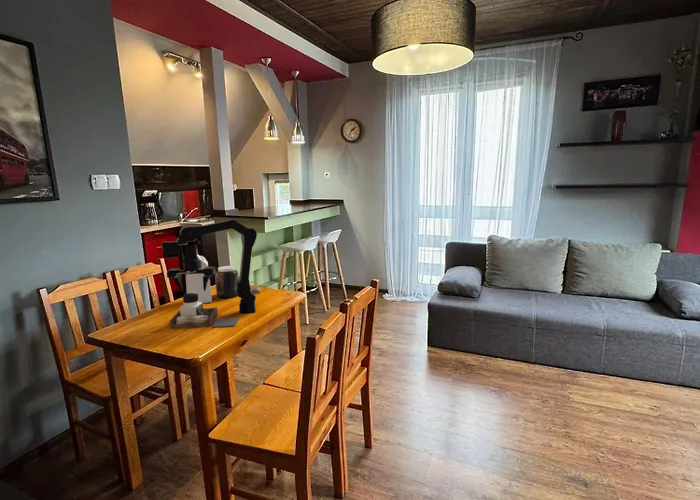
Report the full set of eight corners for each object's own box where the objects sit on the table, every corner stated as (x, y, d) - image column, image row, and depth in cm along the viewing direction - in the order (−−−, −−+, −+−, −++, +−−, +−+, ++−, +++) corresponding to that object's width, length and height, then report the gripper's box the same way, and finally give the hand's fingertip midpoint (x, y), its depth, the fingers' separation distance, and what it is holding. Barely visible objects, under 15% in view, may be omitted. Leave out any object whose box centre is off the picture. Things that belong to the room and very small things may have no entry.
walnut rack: (218, 315, 168) (217, 307, 167) (211, 325, 155) (210, 317, 154) (180, 317, 166) (180, 309, 165) (170, 328, 153) (170, 320, 152)
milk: (187, 298, 194) (183, 249, 189) (211, 295, 198) (207, 247, 193) (187, 305, 183) (182, 253, 178) (212, 302, 187) (208, 251, 182)
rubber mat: (238, 318, 163) (238, 317, 163) (235, 326, 154) (235, 325, 154) (217, 320, 162) (217, 318, 162) (212, 327, 153) (212, 326, 153)
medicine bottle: (197, 323, 158) (195, 296, 156) (180, 323, 159) (178, 296, 156) (204, 317, 165) (201, 291, 163) (188, 317, 166) (185, 291, 163)
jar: (226, 299, 191) (224, 270, 188) (212, 296, 197) (209, 268, 195) (244, 293, 201) (242, 266, 198) (230, 290, 207) (228, 264, 204)
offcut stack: (208, 323, 158) (208, 314, 158) (207, 325, 156) (206, 316, 155) (178, 325, 157) (177, 316, 156) (176, 327, 154) (175, 318, 154)
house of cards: (263, 289, 210) (262, 276, 208) (263, 293, 201) (262, 279, 200) (247, 290, 208) (246, 277, 207) (246, 294, 200) (245, 281, 198)
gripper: (217, 251, 166) (220, 285, 169) (173, 253, 164) (176, 287, 167) (211, 256, 156) (214, 292, 158) (164, 258, 153) (168, 294, 156)
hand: (193, 291), depth 160 cm, fingers open, 9 cm apart
